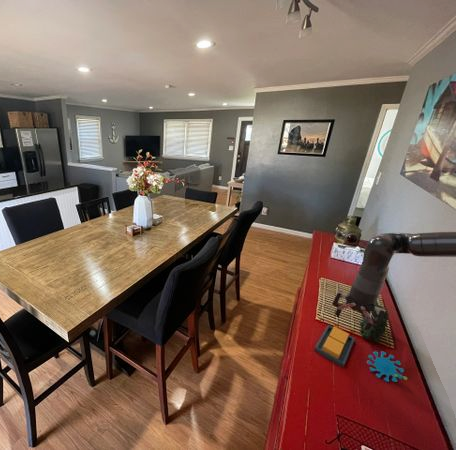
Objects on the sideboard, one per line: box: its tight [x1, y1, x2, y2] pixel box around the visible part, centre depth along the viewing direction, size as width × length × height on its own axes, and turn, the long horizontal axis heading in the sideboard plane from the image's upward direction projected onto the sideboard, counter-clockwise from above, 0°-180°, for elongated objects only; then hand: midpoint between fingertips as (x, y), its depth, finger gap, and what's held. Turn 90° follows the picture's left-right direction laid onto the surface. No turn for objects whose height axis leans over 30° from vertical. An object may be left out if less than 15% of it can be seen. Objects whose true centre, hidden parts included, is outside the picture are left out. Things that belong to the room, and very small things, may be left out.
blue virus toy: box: [366, 350, 408, 383], centre depth 90 cm, size 11×6×10 cm
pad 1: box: [329, 326, 350, 345], centre depth 103 cm, size 6×8×3 cm
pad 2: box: [322, 336, 344, 359], centre depth 98 cm, size 6×8×3 cm
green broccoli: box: [359, 300, 389, 344], centre depth 106 cm, size 9×19×25 cm
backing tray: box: [313, 324, 356, 368], centre depth 101 cm, size 10×19×2 cm, turn 132°
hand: (351, 322), depth 90 cm, fingers open, 8 cm apart
